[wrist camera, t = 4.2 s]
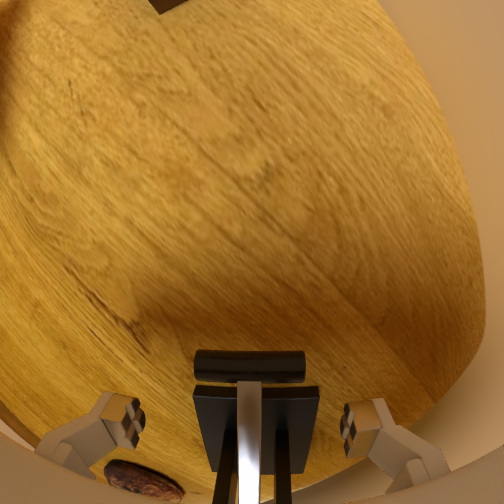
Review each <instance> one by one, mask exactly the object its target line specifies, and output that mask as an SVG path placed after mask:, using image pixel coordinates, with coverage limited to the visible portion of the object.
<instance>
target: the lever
mask: <svg viewBox="0 0 504 504" xmlns="http://www.w3.org/2000/svg"><path fill="white" fill-rule="evenodd" d="M194 375H195V378H196V380H197V381H207V382H224V383H237V439H238V504H260V485H261V426H262V383H303V382H304V380H305V375H306V359H305V353H304V351H302V350H299V351H227V350H203V349H199V350H197V351H196V354H195V357H194Z"/></svg>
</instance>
